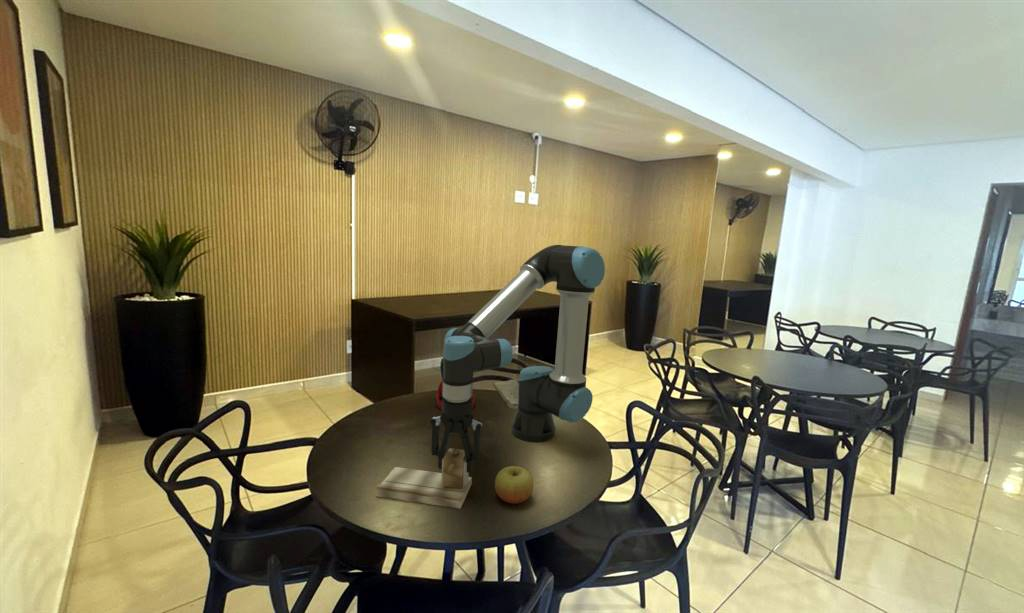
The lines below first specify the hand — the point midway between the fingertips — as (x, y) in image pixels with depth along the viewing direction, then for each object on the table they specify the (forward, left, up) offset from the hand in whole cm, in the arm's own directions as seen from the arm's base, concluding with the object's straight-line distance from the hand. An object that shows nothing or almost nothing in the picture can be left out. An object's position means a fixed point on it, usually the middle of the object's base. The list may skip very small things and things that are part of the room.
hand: (455, 481), depth 114 cm
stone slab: (-6, -69, -3) cm, 70 cm away
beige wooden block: (0, +1, 0) cm, 1 cm away
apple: (-16, 0, -3) cm, 16 cm away
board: (+7, +2, -3) cm, 8 cm away
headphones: (+17, -57, -3) cm, 60 cm away
